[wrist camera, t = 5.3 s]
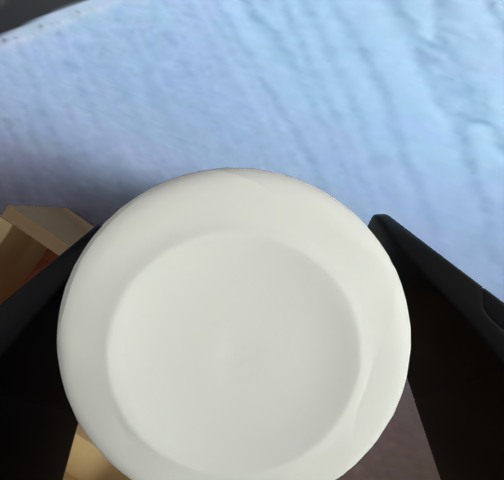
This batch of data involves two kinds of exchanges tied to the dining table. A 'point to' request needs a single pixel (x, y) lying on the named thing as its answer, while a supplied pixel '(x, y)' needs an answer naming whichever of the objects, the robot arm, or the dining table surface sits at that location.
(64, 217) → the grid
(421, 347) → the robot arm
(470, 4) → the dining table surface
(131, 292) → the sprinkles bottle
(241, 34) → the dining table surface
